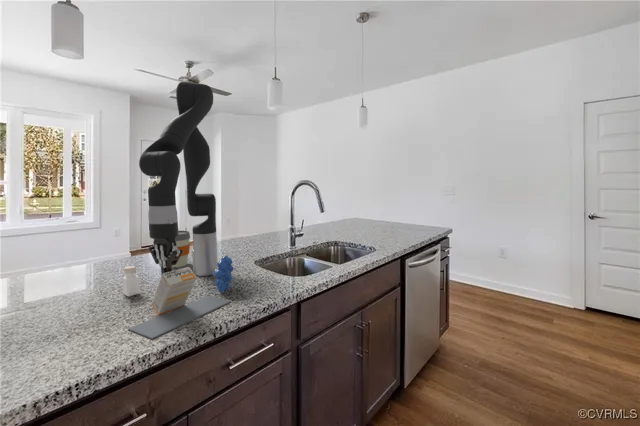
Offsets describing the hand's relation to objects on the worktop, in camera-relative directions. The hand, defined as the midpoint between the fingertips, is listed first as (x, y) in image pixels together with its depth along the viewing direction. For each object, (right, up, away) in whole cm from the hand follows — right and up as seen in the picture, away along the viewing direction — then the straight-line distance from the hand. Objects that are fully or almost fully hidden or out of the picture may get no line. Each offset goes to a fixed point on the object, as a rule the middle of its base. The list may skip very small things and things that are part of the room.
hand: (166, 278), depth 90 cm
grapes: (+11, -8, +18) cm, 22 cm away
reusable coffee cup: (-21, -5, +50) cm, 54 cm away
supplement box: (-1, -8, +1) cm, 8 cm away
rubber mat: (+6, -10, -2) cm, 12 cm away
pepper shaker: (-19, -8, +14) cm, 25 cm away
